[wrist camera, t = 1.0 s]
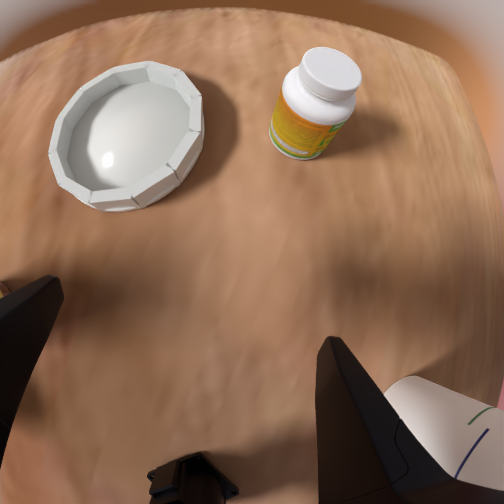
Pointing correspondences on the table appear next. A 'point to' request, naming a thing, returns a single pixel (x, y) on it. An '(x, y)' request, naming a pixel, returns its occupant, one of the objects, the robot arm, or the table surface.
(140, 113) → the dish
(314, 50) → the supplement bottle
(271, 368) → the table surface
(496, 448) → the cylindrical container
